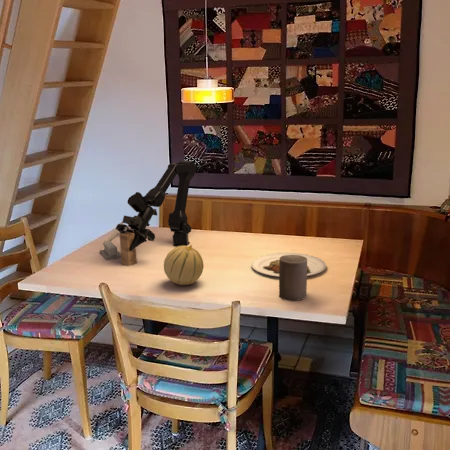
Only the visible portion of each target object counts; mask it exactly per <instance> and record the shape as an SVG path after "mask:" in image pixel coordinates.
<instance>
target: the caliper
mask: <svg viewBox="0 0 450 450" xmlns="http://www.w3.org/2000/svg"><path fill="white" fill-rule="evenodd" d="M119 224H124V223H122V221H121V222H120V223H119ZM120 234H121V233H120V232H119V231H118V230H117V229H116V228H115V230H114V231H113V232H112V233H111V234H110V235H109V236H108V237H107V238H106V239H105V240H104V241H103V243H102V245H104V243H107V242H111V241H112V240H113V238H115V236H117V235H120Z"/></svg>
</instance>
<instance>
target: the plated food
mask: <svg viewBox="0 0 450 450" xmlns="http://www.w3.org/2000/svg"><path fill="white" fill-rule="evenodd" d="M285 255H300V256H304V257H306V258H307V277H309V276H314V275H318V274H320V273H322V272H323V271H325V269H326V267H327V265H326V262H325V261H324V260H322V259H321V258H319V257H317V256H314V255H309V254H306V253H299V252H298V253H297V252H275V253H268V254H264V255H263V254H262V255H260V256H258V257H256V258H254V259H253V260H251V263H250V266H251V268H253V270H255V271H256V272H258V273H260V274H262V275H267V276H271V277H278V278H279V260H280V257H282V256H285Z"/></svg>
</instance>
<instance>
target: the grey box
mask: <svg viewBox="0 0 450 450" xmlns="http://www.w3.org/2000/svg"><path fill="white" fill-rule="evenodd" d="M103 243H104V242H103ZM99 252H100V254H101V255H102V256H103V257H104V259H105V260H107V261H108V260H113V259H120V258H121V251H119V250H118V247H117V246H116V244H114V243H113V242H112V241H109V242H107V243H104V244H103V249H101V250H99Z"/></svg>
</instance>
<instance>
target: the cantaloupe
mask: <svg viewBox="0 0 450 450" xmlns="http://www.w3.org/2000/svg"><path fill="white" fill-rule="evenodd" d="M163 271H164V274H165V275H166V278H167V279H169V280H170V281H171V282H173V283H174V284H176V285H180V286H188V285H192V284H194V283H196V282H197V281H198V280H199V279H200V277H201V275H202V274H203V271H204V259H203V257H202V255H201V253H200V252H199V251H198V250H197V249H196V248H194V247H193V245H192V244H191V245H187V246H175V247H174V248H173V249H171V250H170V251H169V252H168V253H167V254H166V256H165V258H164V261H163Z"/></svg>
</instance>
